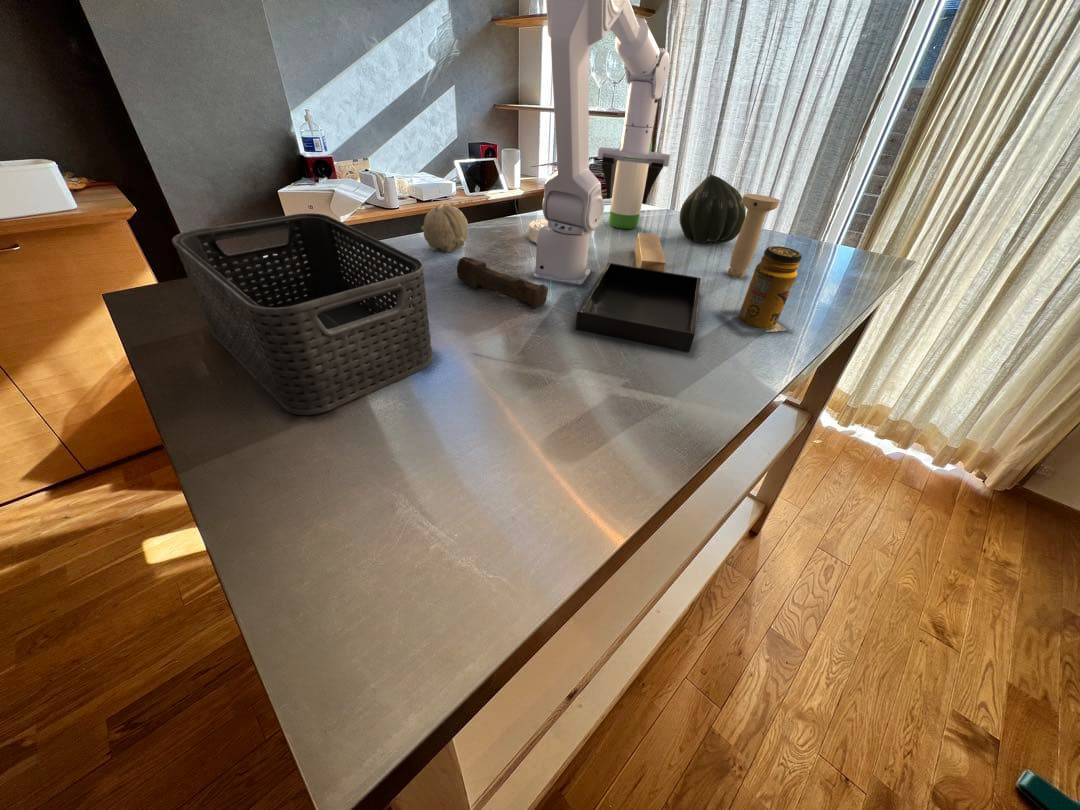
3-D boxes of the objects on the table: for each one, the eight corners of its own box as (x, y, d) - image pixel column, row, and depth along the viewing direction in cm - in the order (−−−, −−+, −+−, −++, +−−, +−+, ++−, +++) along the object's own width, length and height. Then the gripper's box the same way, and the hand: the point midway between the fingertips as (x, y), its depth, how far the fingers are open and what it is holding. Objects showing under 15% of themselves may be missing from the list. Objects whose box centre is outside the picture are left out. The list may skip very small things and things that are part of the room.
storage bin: (444, 361, 59) (435, 263, 51) (299, 426, 47) (258, 312, 39) (337, 294, 74) (317, 209, 66) (206, 331, 62) (162, 234, 54)
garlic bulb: (467, 259, 97) (482, 216, 91) (440, 263, 90) (454, 217, 84) (437, 237, 99) (449, 193, 93) (409, 239, 92) (420, 192, 87)
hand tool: (548, 305, 75) (550, 279, 72) (534, 312, 72) (536, 285, 70) (468, 275, 84) (467, 251, 81) (453, 281, 81) (451, 256, 78)
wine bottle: (607, 228, 114) (627, 85, 96) (608, 220, 120) (628, 84, 102) (637, 231, 113) (664, 87, 95) (637, 223, 119) (662, 86, 101)
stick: (637, 282, 85) (641, 260, 83) (634, 252, 99) (638, 232, 97) (660, 285, 85) (665, 262, 82) (654, 254, 99) (658, 234, 96)
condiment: (786, 331, 72) (819, 258, 65) (741, 334, 70) (769, 259, 63) (759, 311, 78) (786, 242, 70) (717, 313, 76) (740, 243, 69)
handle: (746, 283, 88) (774, 203, 79) (715, 274, 91) (739, 196, 82) (755, 277, 91) (783, 199, 82) (725, 268, 94) (749, 192, 85)
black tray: (574, 331, 68) (577, 311, 66) (605, 279, 86) (607, 262, 84) (688, 354, 64) (694, 334, 62) (695, 295, 82) (700, 277, 80)
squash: (756, 230, 99) (755, 166, 100) (689, 229, 99) (689, 165, 101) (729, 256, 114) (728, 200, 115) (671, 255, 114) (671, 199, 115)
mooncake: (532, 229, 109) (533, 214, 107) (580, 234, 108) (582, 219, 106) (524, 244, 100) (525, 228, 98) (577, 249, 99) (579, 233, 97)
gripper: (677, 127, 88) (662, 200, 96) (606, 120, 91) (597, 192, 99) (674, 130, 83) (658, 207, 91) (599, 123, 86) (590, 198, 94)
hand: (626, 200), depth 95 cm, fingers open, 7 cm apart
